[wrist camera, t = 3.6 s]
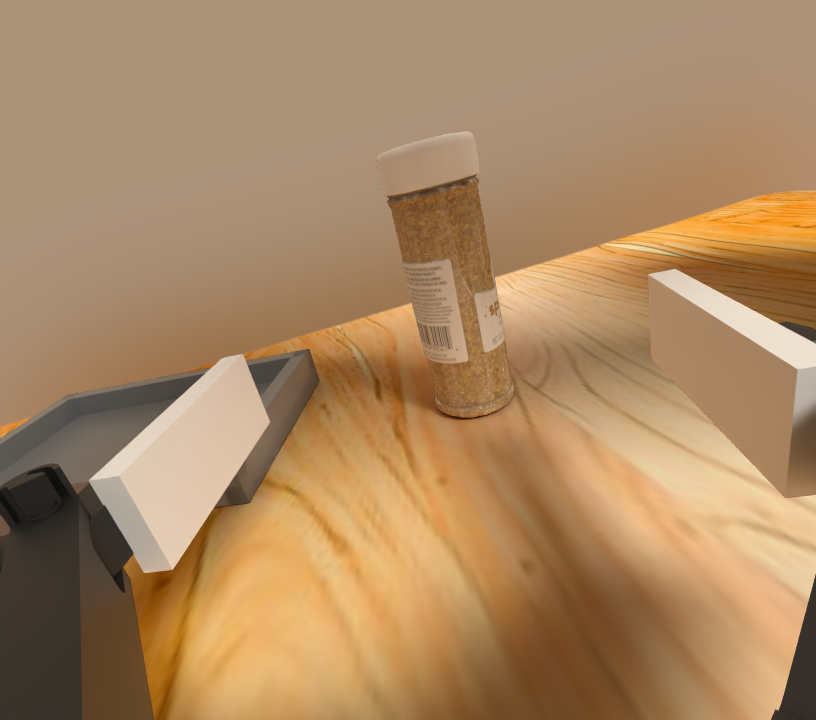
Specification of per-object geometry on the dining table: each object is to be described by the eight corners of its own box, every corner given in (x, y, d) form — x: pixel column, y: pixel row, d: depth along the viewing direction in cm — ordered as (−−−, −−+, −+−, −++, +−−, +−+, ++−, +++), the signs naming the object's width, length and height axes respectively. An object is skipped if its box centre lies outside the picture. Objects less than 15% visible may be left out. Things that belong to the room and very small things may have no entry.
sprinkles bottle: (533, 399, 25) (492, 122, 20) (457, 431, 24) (393, 146, 19) (488, 372, 29) (445, 137, 24) (422, 399, 28) (361, 157, 23)
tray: (319, 380, 34) (309, 348, 33) (249, 502, 22) (229, 459, 21) (83, 422, 38) (67, 395, 37) (-87, 548, 26) (-116, 512, 25)
